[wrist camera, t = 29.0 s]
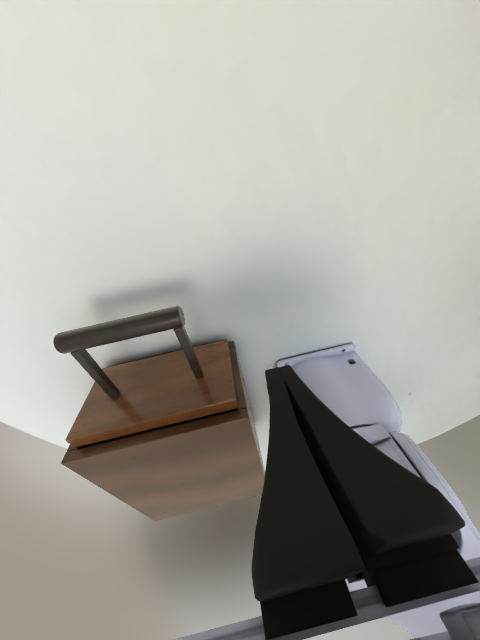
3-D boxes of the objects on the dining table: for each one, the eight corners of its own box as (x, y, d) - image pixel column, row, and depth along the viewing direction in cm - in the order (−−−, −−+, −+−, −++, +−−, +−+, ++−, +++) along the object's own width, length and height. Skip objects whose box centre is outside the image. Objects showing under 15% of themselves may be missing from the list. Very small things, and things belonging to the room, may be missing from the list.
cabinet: (105, 370, 22) (60, 463, 15) (233, 340, 22) (249, 417, 15) (165, 444, 31) (155, 521, 24) (254, 422, 32) (269, 492, 25)
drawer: (54, 311, 17) (-20, 380, 11) (209, 276, 17) (214, 326, 11) (162, 442, 29) (153, 504, 24) (249, 421, 30) (260, 477, 24)
